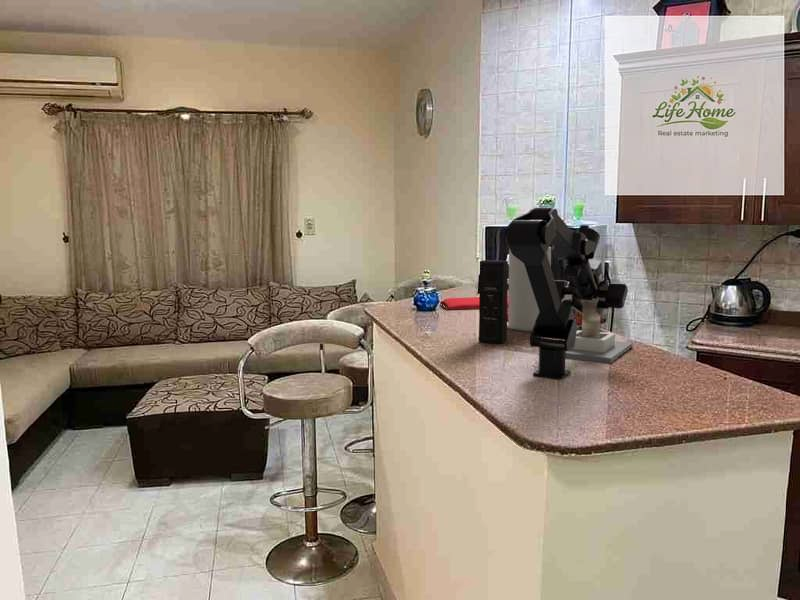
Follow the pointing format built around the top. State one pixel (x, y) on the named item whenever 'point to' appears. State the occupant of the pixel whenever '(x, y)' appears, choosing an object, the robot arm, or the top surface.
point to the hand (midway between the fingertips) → (592, 313)
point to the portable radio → (493, 301)
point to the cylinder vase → (521, 296)
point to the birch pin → (590, 319)
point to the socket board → (597, 348)
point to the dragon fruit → (579, 319)
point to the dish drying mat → (463, 303)
